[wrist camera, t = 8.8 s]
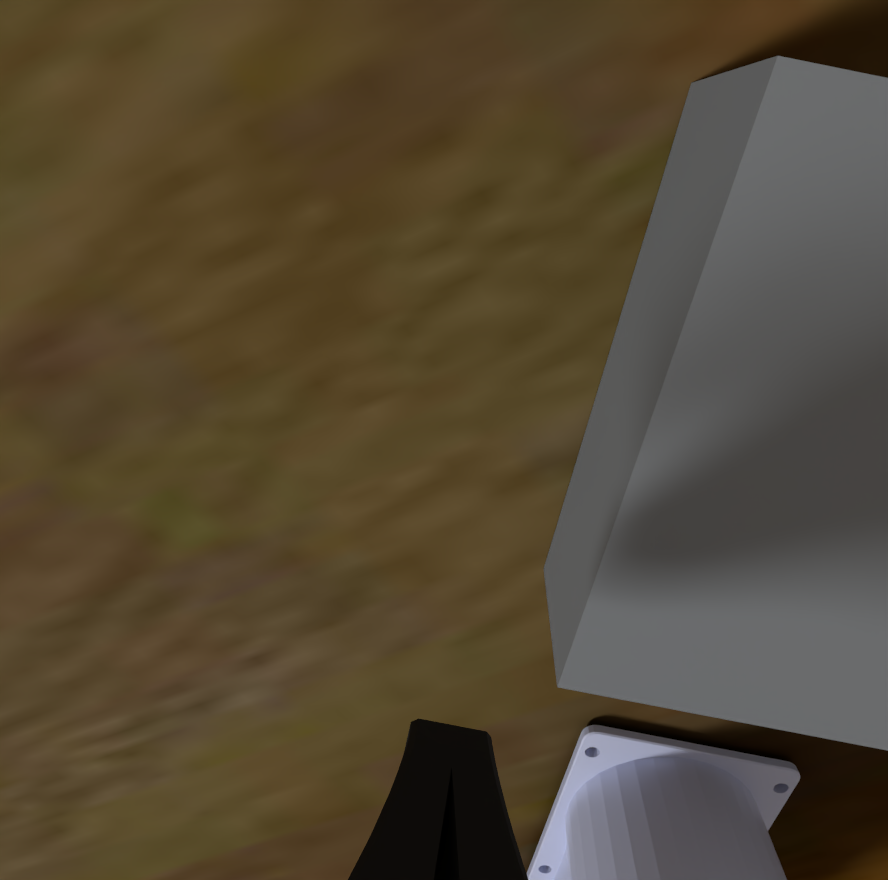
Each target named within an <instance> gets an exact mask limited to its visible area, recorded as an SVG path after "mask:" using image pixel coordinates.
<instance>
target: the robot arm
mask: <svg viewBox="0 0 888 880" xmlns="http://www.w3.org/2000/svg"><path fill="white" fill-rule="evenodd" d="M590 747H594V748H590ZM799 780H800V773H799V771H798V769H797V767H796V766H795V765H794V764H793V763H791V762H788V761H784V760H778V759H773V758H768V757H763V756H757V755H752V754H747V753H742V752H737V751H731V750H726V749H721V748H716V747H710V746H705V745H700V744H695V743H690V742H684V741H679V740H674V739H669V738H663V737H658V736H653V735H648V734H642V733H637V732H632V731H627V730H622V729H616V728H611V727H606V726H601V725H590V726H587V727H586V728H584V729H583V730H582V732H581V734H580V737H579V739H578V742H577V745H576V747H575V750H574V752H573V755H572V758H571V760H570V763H569V765H568V768H567V770H566V773H565V776H564V778H563V781H562V783H561V786H560V789H559V791H558V794H557V796H556V799H555V801H554V804H553V807H552V809H551V812H550V814H549V817H548V820H547V822H546V825H545V827H544V830H543V832H542V835H541V838H540V840H539V843H538V845H537V848H536V851H535V853H534V856H533V858H532V861H531V864H530V866H529V869H528V871H527V874H526V871H525V868H524V865H523V862H522V859H521V856H520V852H519V849H518V846H517V843H516V840H515V836H514V833H513V830H512V826H511V823H510V819H509V816H508V812H507V808H506V805H505V801H504V797H503V793H502V789H501V785H500V781H499V777H498V772H497V767H496V763H495V757H494V752H493V746H492V740H491V737H490V735H489V734H488V733H487V732H486V731H480V730H475V729H470V728H465V727H459V726H454V725H449V724H444V723H438V722H433V721H428V720H423V719H417V720H415V721H412V722H411V724H410V729H409V733H408V738H407V742H406V747H405V751H404V755H403V758H402V761H401V764H400V767H399V770H398V773H397V775H396V778H395V780H394V783H393V786H392V788H391V791H390V793H389V796H388V798H387V800H386V802H385V805H384V807H383V809H382V811H381V814H380V816H379V818H378V820H377V823H376V825H375V827H374V829H373V832H372V834H371V836H370V838H369V840H368V842H367V844H366V846H365V848H364V850H363V852H362V854H361V856H360V857H359V859H358V861H357V863H356V865H355V867H354V869H353V871H352V873H351V875H350V877H349V879H348V880H787V879H786V876H785V874H784V871H783V869H782V866H781V863H780V861H779V858H778V856H777V853H776V851H775V848H774V846H773V843H772V841H771V838H770V836H769V833H768V830H769V829H770V827H771V825H772V824H773V822H774V821H775V819H776V817H777V816H778V814H779V813H780V811H781V809H782V808H783V806H784V805H785V803H786V801H787V800H788V798H789V797H790V795H791V793H792V792H793V790H794V788H795V787H796V785H797V784H798V782H799Z"/></svg>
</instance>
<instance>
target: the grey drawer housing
mask: <svg viewBox="0 0 888 880" xmlns="http://www.w3.org/2000/svg"><path fill="white" fill-rule="evenodd" d="M544 576H545V585H546V593H547V602H548V611H549V619H550V628H551V637H552V645H553V654H554V663H555V671H556V680H557V687H559V688H564V689H570V690H575V691H580V692H585V693H590V694H596V695H601V696H606V697H611V698H616V699H622V700H627V701H632V702H637V703H642V704H648V705H653V706H658V707H663V708H669V709H674V710H679V711H684V712H689V713H695V714H700V715H705V716H710V717H715V718H721V719H726V720H731V721H736V722H741V723H747V724H752V725H757V726H762V727H768V728H773V729H778V730H783V731H788V732H794V733H799V734H804V735H809V736H814V737H820V738H825V739H830V740H835V741H840V742H846V743H851V744H856V745H861V746H867V747H872V748H877V749H882V750H887V751H888V78H886V77H881V76H876V75H871V74H866V73H861V72H856V71H851V70H846V69H841V68H836V67H831V66H827V65H822V64H817V63H812V62H807V61H802V60H797V59H792V58H787V57H782V56H775V57H772V58H769V59H765V60H762V61H759V62H756V63H753V64H750V65H746V66H743V67H740V68H737V69H734V70H731V71H727V72H724V73H721V74H718V75H715V76H712V77H708V78H705V79H702V80H699V81H696V82H693V83H691V86H690V89H689V92H688V96H687V99H686V102H685V106H684V109H683V112H682V115H681V119H680V122H679V125H678V129H677V132H676V135H675V138H674V142H673V145H672V148H671V152H670V155H669V158H668V162H667V165H666V168H665V171H664V175H663V178H662V181H661V185H660V188H659V191H658V194H657V198H656V201H655V204H654V208H653V211H652V214H651V217H650V221H649V224H648V227H647V231H646V234H645V237H644V240H643V244H642V247H641V250H640V254H639V257H638V260H637V263H636V267H635V270H634V273H633V277H632V280H631V283H630V286H629V290H628V293H627V296H626V300H625V303H624V306H623V310H622V313H621V316H620V319H619V323H618V326H617V329H616V333H615V336H614V339H613V342H612V346H611V349H610V352H609V356H608V359H607V362H606V365H605V369H604V372H603V375H602V379H601V382H600V385H599V388H598V392H597V395H596V398H595V402H594V405H593V408H592V411H591V415H590V418H589V421H588V425H587V428H586V431H585V435H584V438H583V441H582V444H581V448H580V451H579V454H578V458H577V461H576V464H575V467H574V471H573V474H572V477H571V481H570V484H569V487H568V490H567V494H566V497H565V500H564V504H563V507H562V510H561V513H560V517H559V520H558V523H557V527H556V530H555V533H554V536H553V540H552V543H551V546H550V550H549V553H548V556H547V559H546V563H545V566H544Z"/></svg>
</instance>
